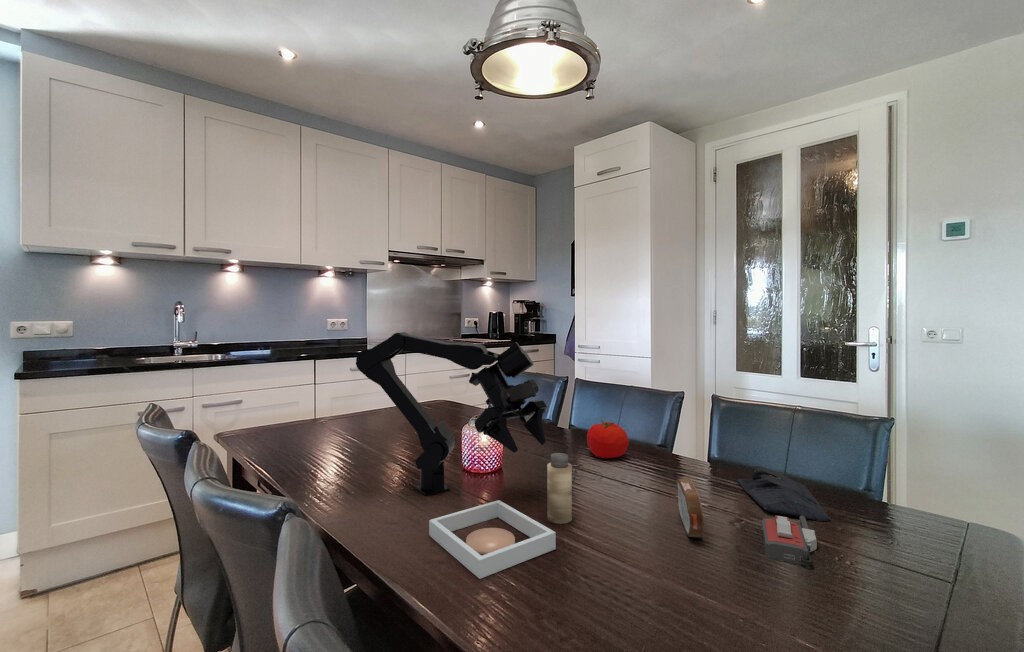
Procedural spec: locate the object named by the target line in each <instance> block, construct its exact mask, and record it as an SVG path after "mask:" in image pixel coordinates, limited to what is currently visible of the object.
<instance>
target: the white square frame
mask: <svg viewBox="0 0 1024 652" xmlns="http://www.w3.org/2000/svg"><path fill="white" fill-rule="evenodd" d="M496 518H499V519H500V520H502V521H503V522H504V523H506V524H508V525H510V526H511V527H513V528H515V529H516V530H517V531H519V532H521V533H523V534H524V535H526V536H527V537H529V538H527V539H524V540H522V541H519V542H516V537H515V535H514V533H512V532H511V531H509V530H507V529H505V528H499V527H485V528H484V527H483V528H479V529H476V530H474V531H472V532H470V533H469V534H468V535H467V536H466V540H465V541H463V540H462V539H461V538H459V537H458V536H457V535H455V534H454V533H453V532H454V531H458V530H460V529H461V530H462V529H464V528H467V527H471V526H473V525H477V524H481V523H484V522H486V521H489V520H493V519H496ZM428 521H429V522H428V525H429V526H428V527H429V528H428V530H429V531H428V532H429V534H428V535H429V537H430V538H431V539H432V540H434V541H435V542H436V543H437V544H438V545H439V546H441V548H443V549H444V550H446V551H447V552H448V553H449V554H450V555H451V556H453V557H454V559H456V560H457V561H458V562H459V563H460V564H462V565H463V566H464V567H465V568H466V569H467V570H469V572H471V573H472V574H473V575H474V576H475V577H477V578H478V579H479V580H481V579H483V578H486V577H488V576H491V575H493V574H496V573H499V572H501V571H503V570H506V569H508V568H511V567H514V566H516V565H519V564H521V563H523V562H526V561H529V560H532V559H533V558H537V557H539V556H541V555H544V554H547V553H549V552H552V551H554V550H556V549H557V547H556V537H557V533H556V531H554V530H552V529H551V528H549V527H547V526H545V525H544V524H542V523H540V522H538V521H537V520H534V519H533V518H531V517H529V516H528V515H525V514H524V513H522V512H520V511H518V510H517V509H515V508H514V507H512V506H510V505H508V504H507V503H505V502H503V501H501V500H499V499H497V500H495V501H491V502H488V503H484V504H480V505H478V506H477V505H476V506H473V507H470V508H467V509H462V510H460V511H456V512H452V513H449V514H446V515H443V516H438V517H436V518H432V519H429V520H428Z"/></svg>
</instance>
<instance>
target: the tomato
mask: <svg viewBox="0 0 1024 652" xmlns="http://www.w3.org/2000/svg"><path fill="white" fill-rule="evenodd" d="M629 441H630V439H629V437H628V434H627V432H626V430H625V429H623V428H622V427H621V426H620V425H618V424H617V423H616V422H612V421H603V419H601V423H596V424H593V425H592V426H591V427H589V429H588V431H587V434H586V443H587V447H588V449H589V450H590V452H591V453H592V454H593V455H594V456H595V457H596V458H601V459H614V458H615V459H616V458H620V457H621V456H623V455H624V454H625V453H626V452H627V449H628V448H629Z"/></svg>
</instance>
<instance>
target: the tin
mask: <svg viewBox="0 0 1024 652" xmlns="http://www.w3.org/2000/svg"><path fill="white" fill-rule="evenodd" d="M676 487H677V494H678V495H677V496H678V497H677V505H678V511H679V515H680V519H681V522H682V525H683V528H684V531H685V533H686V535H687V537H688V538H699V539H700V538H701V539H704V537H705V536H704V534H705V522H704V515H703V514H704V513H703V506H702V501H701V497H700V494H699V492H698V490H697V488H696V486H695V484H694V481H693V479H692V478H691V477H689V478H678V479H677V480H676Z"/></svg>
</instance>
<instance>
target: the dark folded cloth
mask: <svg viewBox="0 0 1024 652" xmlns="http://www.w3.org/2000/svg"><path fill="white" fill-rule="evenodd" d="M736 481H737V483H738V484H739V485H740V486H741V487H742V489H743V491H744V492H745V493H747V495H749V496H751V498H752V499H753V500H754V501H755V502H756V503H757V504H758V505H759V506H760V507H761V508H763V510H764V511H766V512H768V513H772V514H780V515H787V516H791V517H796V518H799V517H800V516H804V517H805V519H806V520H810V521H817V522H833V521H832V518H831V517H830V516H829V515H828V514H827V513H826V511H825V510H824V509H823V506H821V504H820V502H818V500H817V499H816V497H815V496H814V495H813V494H812V493H811V491H809V489H808V488H807V486H806V485H805V484H803V483H801V482H797V481H795V480H793V479H791V478H789V477H788V476H787V475H784V474H782V473H780V472H778V471H775V470H773V469H769V468H766V467H764V466H761V465H760V466H759V465H757V466H755V469H754V471H753V472H752V474H751V478H737V479H736Z"/></svg>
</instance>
